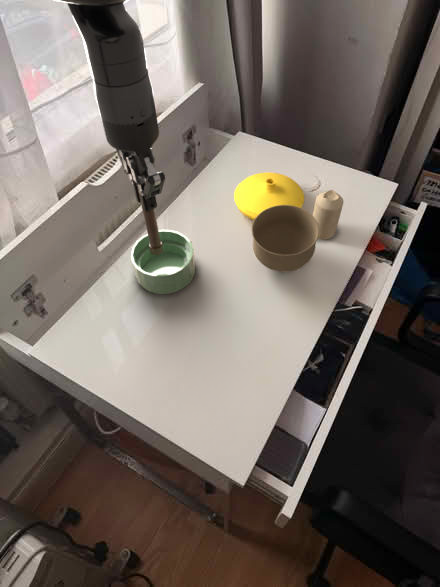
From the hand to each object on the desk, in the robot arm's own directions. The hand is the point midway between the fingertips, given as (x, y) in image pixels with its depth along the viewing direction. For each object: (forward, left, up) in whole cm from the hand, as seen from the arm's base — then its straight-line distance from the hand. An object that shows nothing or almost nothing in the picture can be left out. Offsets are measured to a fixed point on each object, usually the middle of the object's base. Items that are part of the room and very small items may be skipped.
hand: (147, 204), depth 72 cm
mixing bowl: (+1, +1, -19) cm, 19 cm away
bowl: (+22, -10, -19) cm, 31 cm away
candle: (+35, -8, -19) cm, 41 cm away
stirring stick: (0, 0, -12) cm, 12 cm away
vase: (+30, +5, -19) cm, 36 cm away
